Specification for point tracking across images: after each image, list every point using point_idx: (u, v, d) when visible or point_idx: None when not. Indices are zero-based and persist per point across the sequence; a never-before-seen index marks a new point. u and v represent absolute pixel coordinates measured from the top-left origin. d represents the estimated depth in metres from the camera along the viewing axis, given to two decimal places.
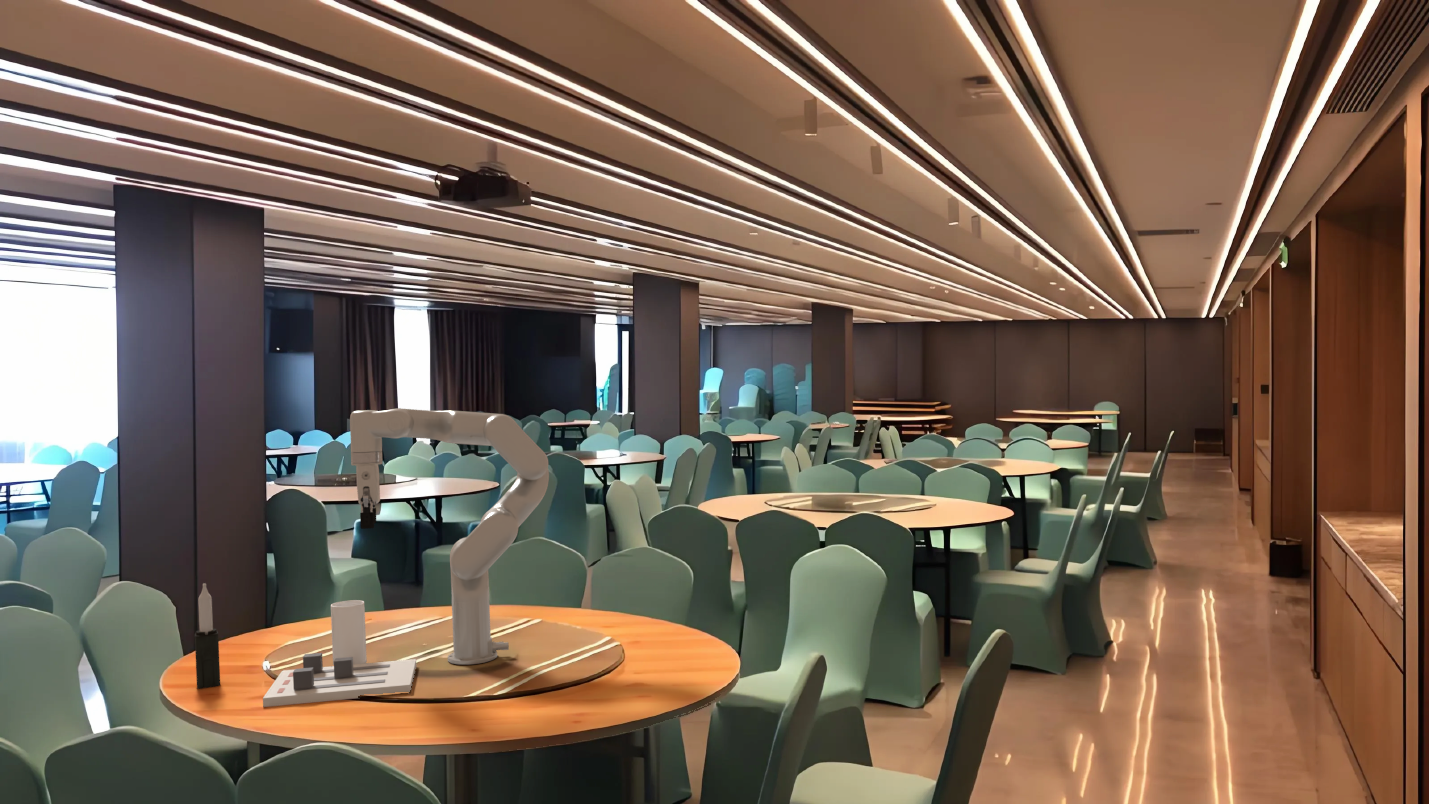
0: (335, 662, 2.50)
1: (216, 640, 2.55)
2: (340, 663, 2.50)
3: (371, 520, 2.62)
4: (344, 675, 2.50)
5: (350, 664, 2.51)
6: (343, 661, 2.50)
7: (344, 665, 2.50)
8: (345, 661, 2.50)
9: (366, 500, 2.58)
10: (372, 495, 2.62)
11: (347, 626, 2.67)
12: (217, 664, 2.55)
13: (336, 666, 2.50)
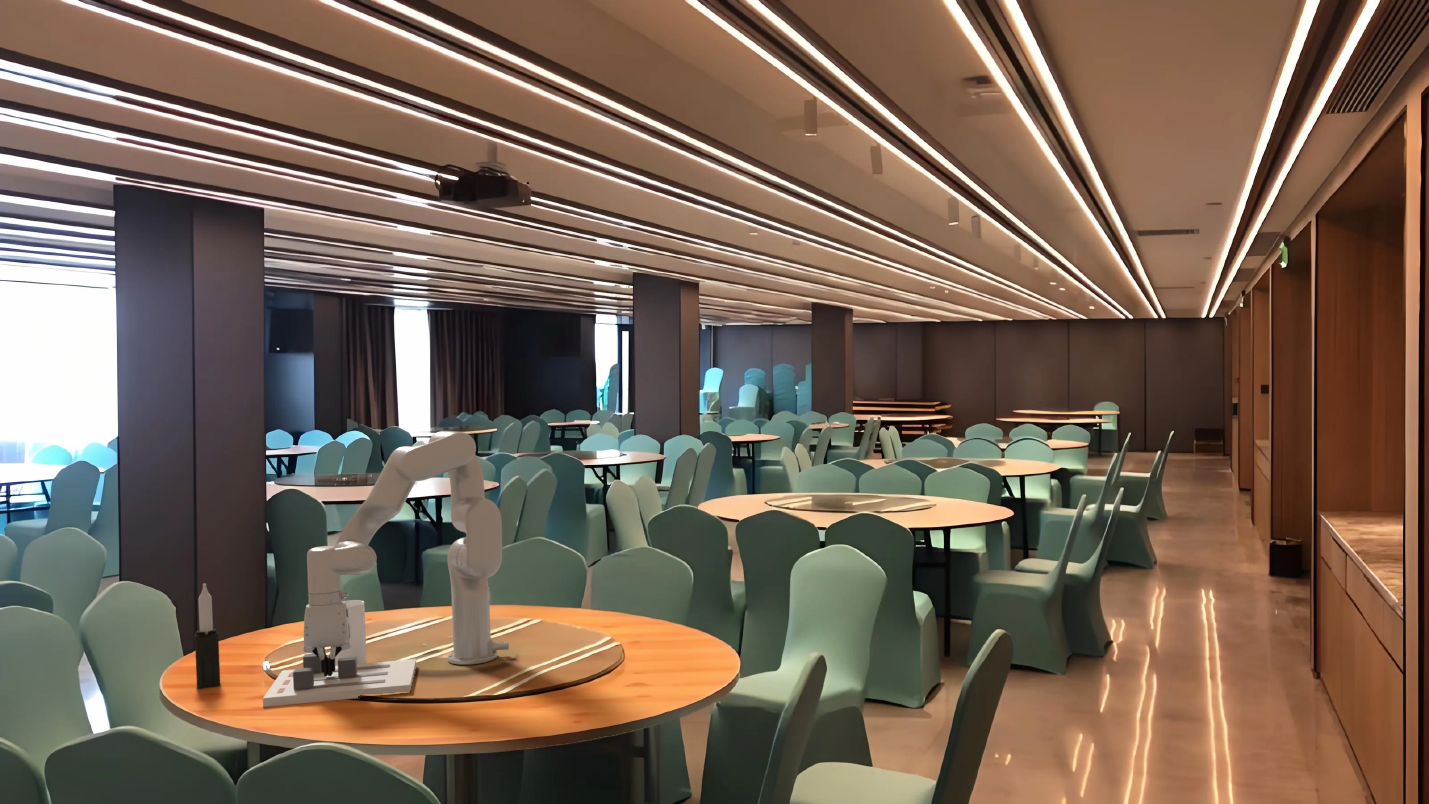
0: (339, 662, 2.50)
1: (216, 640, 2.55)
2: (344, 663, 2.50)
3: None
4: (348, 675, 2.51)
5: (354, 664, 2.51)
6: (347, 661, 2.51)
7: (348, 665, 2.51)
8: (349, 660, 2.51)
9: None
10: None
11: None
12: (217, 664, 2.55)
13: (340, 666, 2.50)
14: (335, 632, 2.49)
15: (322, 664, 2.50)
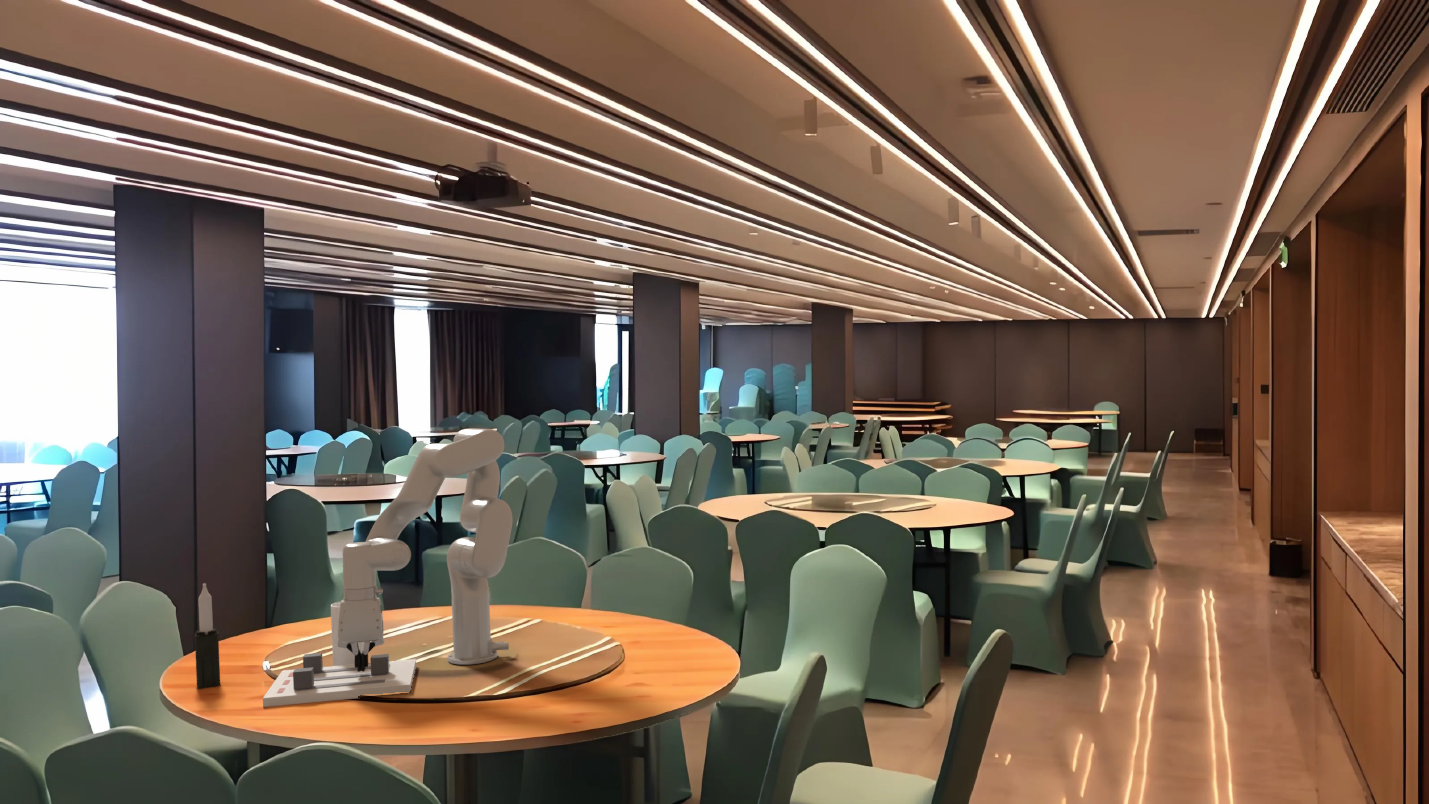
0: (372, 659, 2.52)
1: (216, 640, 2.55)
2: (377, 660, 2.52)
3: None
4: (381, 672, 2.52)
5: (386, 661, 2.52)
6: (380, 658, 2.52)
7: (381, 662, 2.52)
8: (381, 658, 2.52)
9: None
10: None
11: None
12: (217, 664, 2.55)
13: (373, 663, 2.52)
14: (369, 628, 2.51)
15: (356, 659, 2.51)
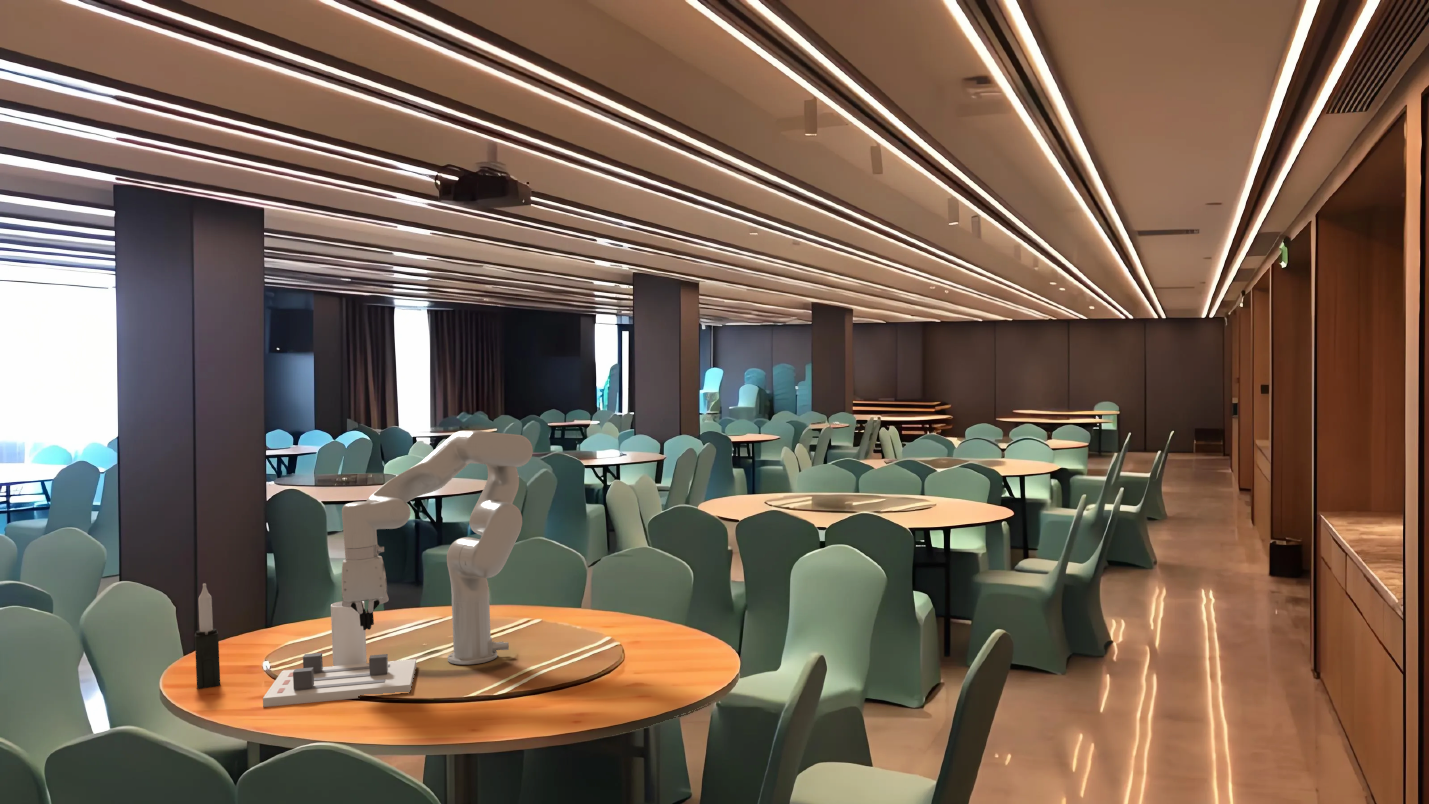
0: (370, 659, 2.52)
1: (216, 640, 2.55)
2: (375, 660, 2.52)
3: None
4: (379, 672, 2.52)
5: (385, 661, 2.52)
6: (378, 658, 2.52)
7: (379, 662, 2.52)
8: (380, 658, 2.52)
9: None
10: (386, 586, 2.55)
11: (347, 626, 2.67)
12: (217, 664, 2.55)
13: (371, 663, 2.52)
14: (373, 586, 2.51)
15: (361, 618, 2.52)
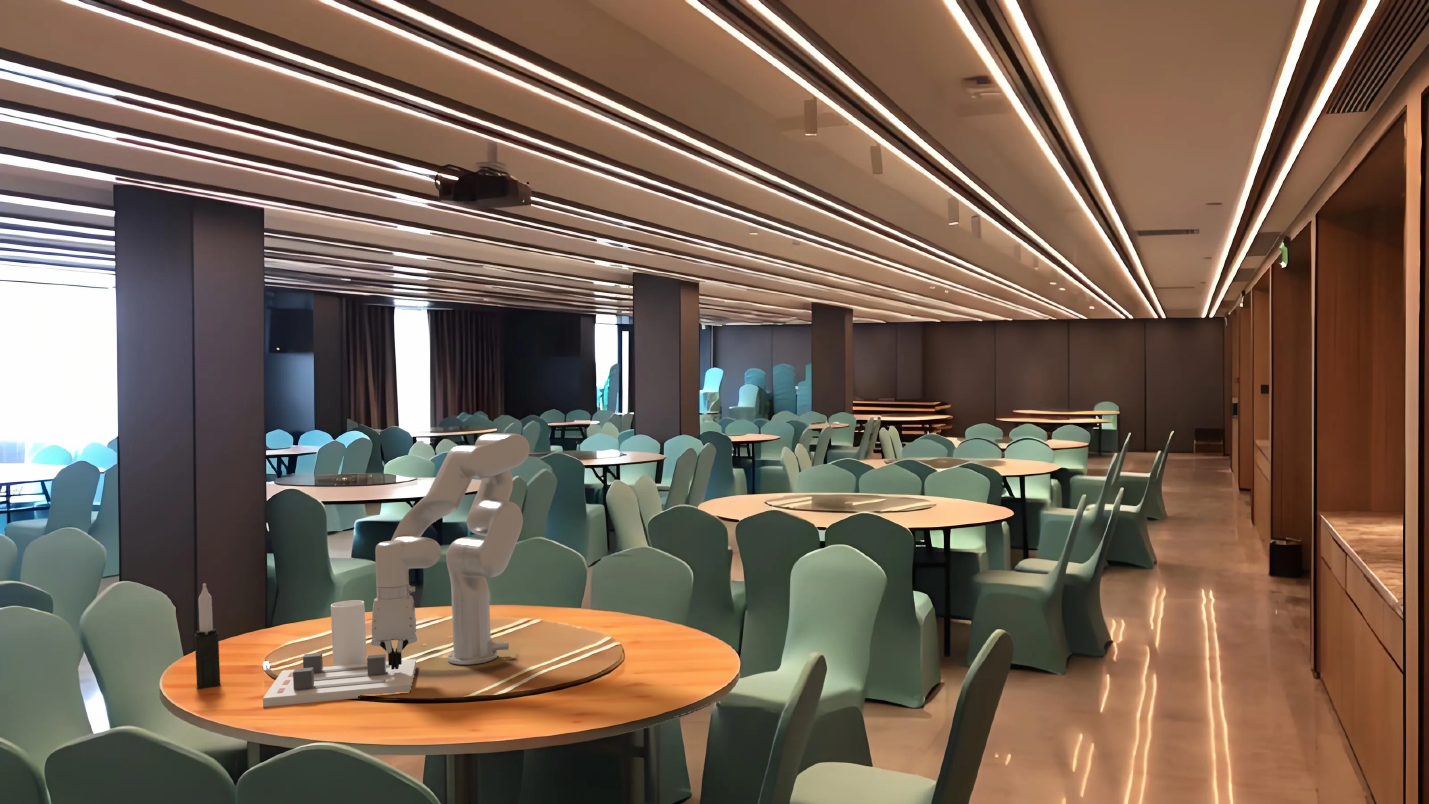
0: (368, 659, 2.52)
1: (216, 640, 2.55)
2: (373, 660, 2.52)
3: None
4: (377, 672, 2.52)
5: (383, 661, 2.52)
6: (376, 658, 2.52)
7: (377, 662, 2.52)
8: (378, 658, 2.52)
9: None
10: None
11: (347, 626, 2.67)
12: (217, 664, 2.55)
13: (369, 663, 2.52)
14: (403, 626, 2.52)
15: (389, 657, 2.53)
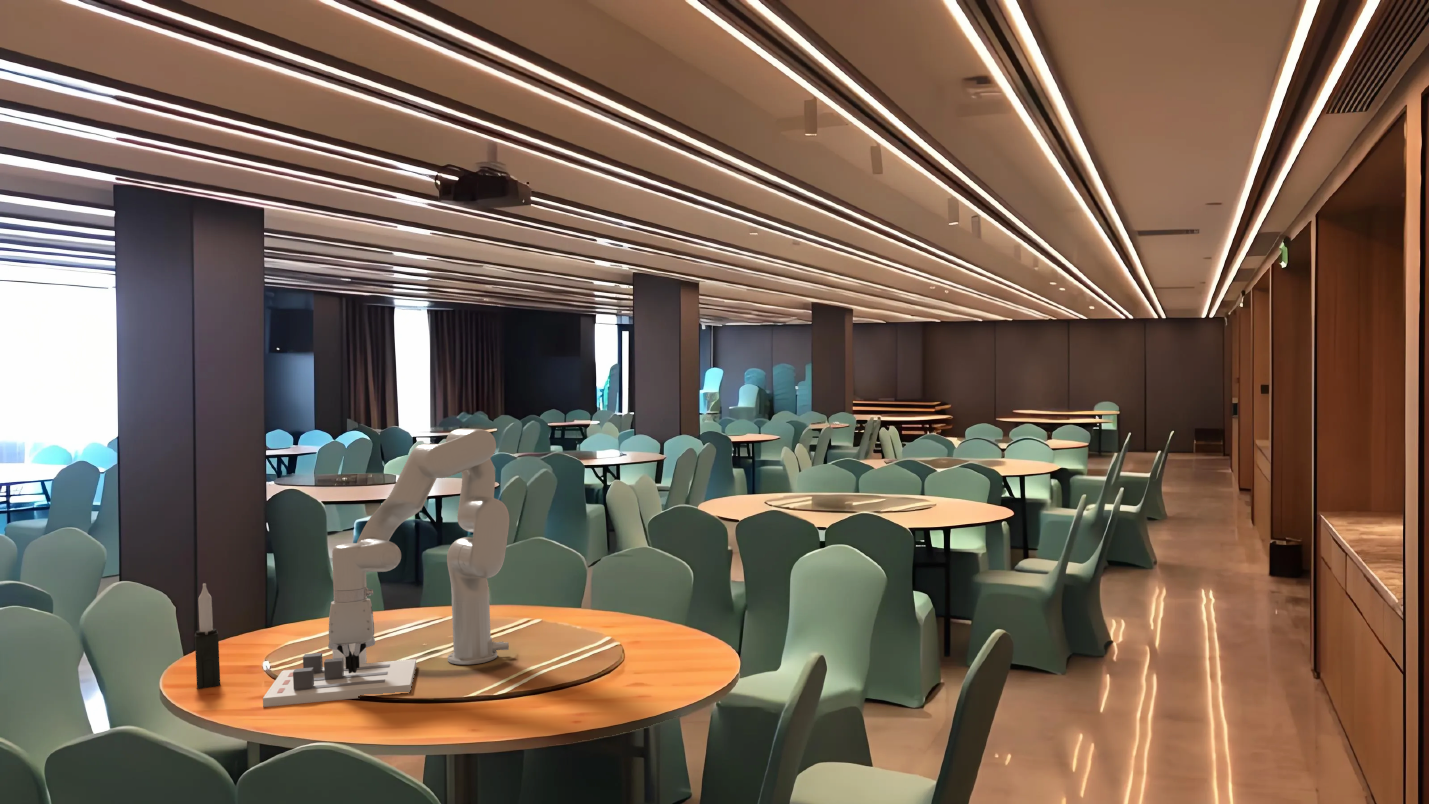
0: (325, 663, 2.49)
1: (216, 640, 2.55)
2: (330, 664, 2.50)
3: None
4: (334, 676, 2.50)
5: (340, 665, 2.50)
6: (333, 662, 2.50)
7: (334, 666, 2.50)
8: (335, 662, 2.50)
9: None
10: None
11: None
12: (217, 664, 2.55)
13: (326, 667, 2.49)
14: (360, 629, 2.50)
15: (346, 661, 2.51)
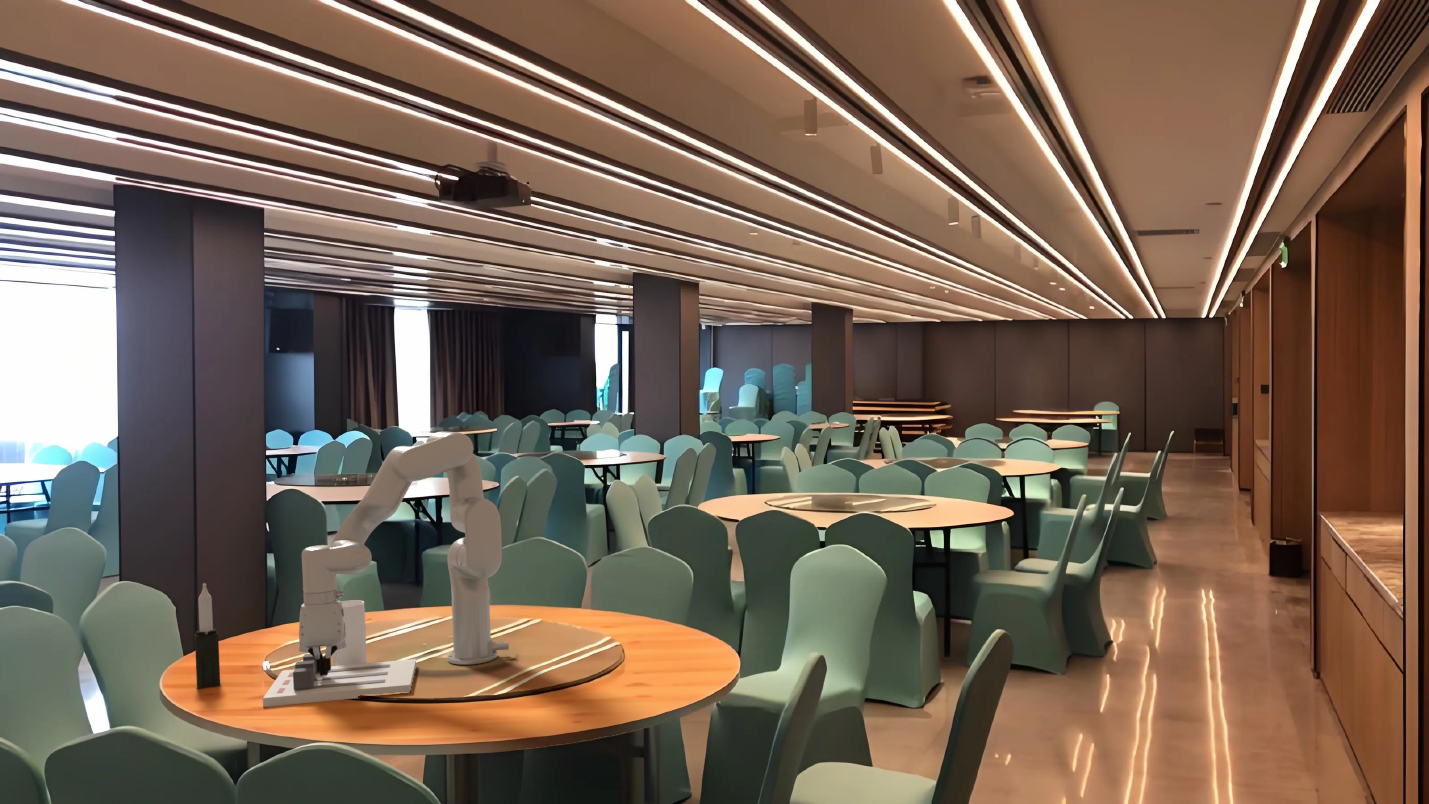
0: (296, 665, 2.48)
1: (216, 640, 2.55)
2: (301, 666, 2.48)
3: None
4: None
5: None
6: (304, 664, 2.48)
7: None
8: (306, 664, 2.48)
9: None
10: (345, 631, 2.53)
11: (347, 626, 2.67)
12: (217, 664, 2.55)
13: None
14: (331, 631, 2.49)
15: (318, 663, 2.50)
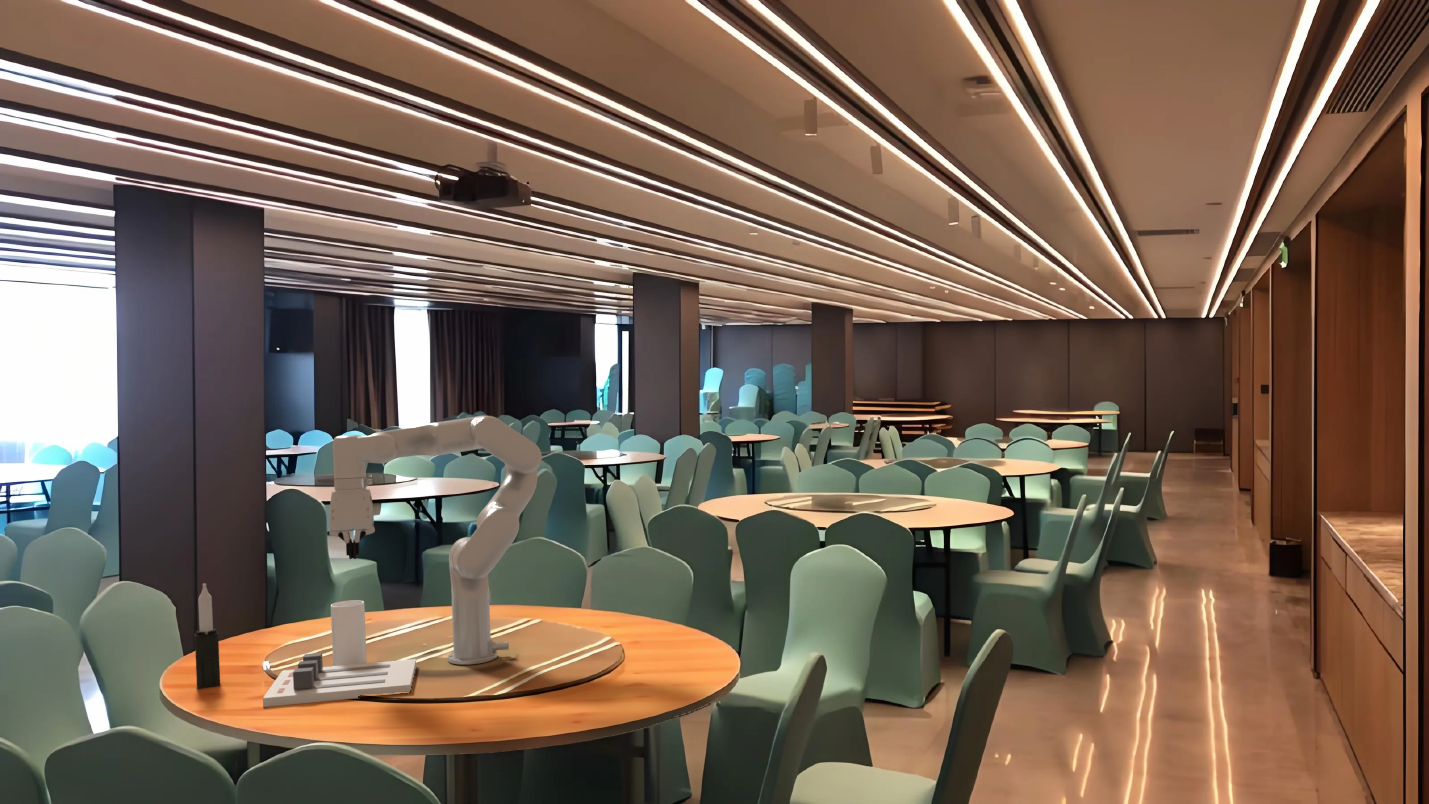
0: (299, 665, 2.48)
1: (216, 640, 2.55)
2: (304, 666, 2.48)
3: None
4: None
5: (314, 667, 2.49)
6: (307, 664, 2.49)
7: None
8: (309, 664, 2.49)
9: None
10: (373, 518, 2.64)
11: (347, 626, 2.67)
12: (217, 664, 2.55)
13: None
14: (360, 516, 2.60)
15: (347, 547, 2.60)
